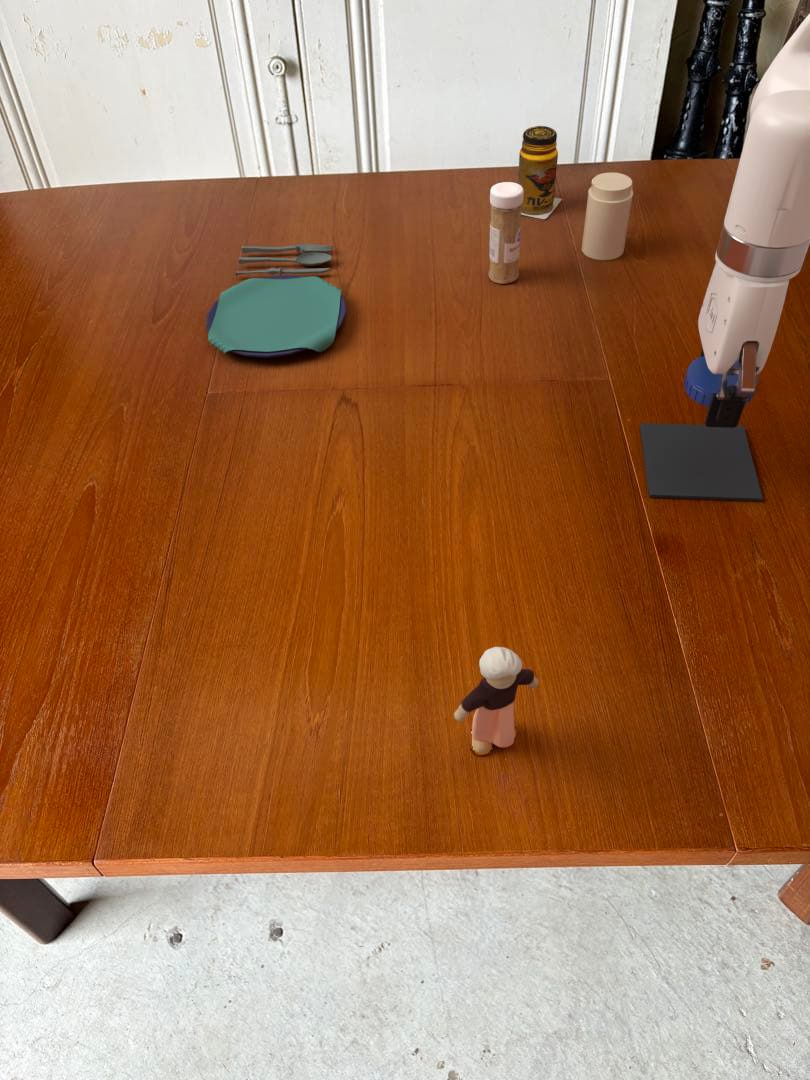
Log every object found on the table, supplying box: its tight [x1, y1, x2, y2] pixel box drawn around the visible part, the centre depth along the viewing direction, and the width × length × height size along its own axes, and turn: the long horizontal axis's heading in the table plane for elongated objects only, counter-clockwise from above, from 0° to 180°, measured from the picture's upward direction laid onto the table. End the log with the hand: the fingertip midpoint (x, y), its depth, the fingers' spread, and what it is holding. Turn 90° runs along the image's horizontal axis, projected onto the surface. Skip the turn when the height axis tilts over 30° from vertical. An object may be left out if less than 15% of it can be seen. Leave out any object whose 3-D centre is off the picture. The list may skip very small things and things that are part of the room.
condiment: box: [517, 125, 563, 220], centre depth 131 cm, size 7×8×12 cm
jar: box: [581, 172, 634, 261], centre depth 121 cm, size 6×6×11 cm
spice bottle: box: [488, 181, 524, 285], centre depth 116 cm, size 5×5×13 cm
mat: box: [639, 422, 764, 502], centre depth 93 cm, size 12×12×1 cm
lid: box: [683, 356, 759, 408], centre depth 85 cm, size 7×7×2 cm
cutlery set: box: [205, 242, 347, 359], centre depth 118 cm, size 20×30×2 cm, turn 179°
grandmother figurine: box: [453, 646, 539, 753], centre depth 67 cm, size 8×4×13 cm, turn 126°
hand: (715, 401), depth 86 cm, fingers closed on lid, 6 cm apart
